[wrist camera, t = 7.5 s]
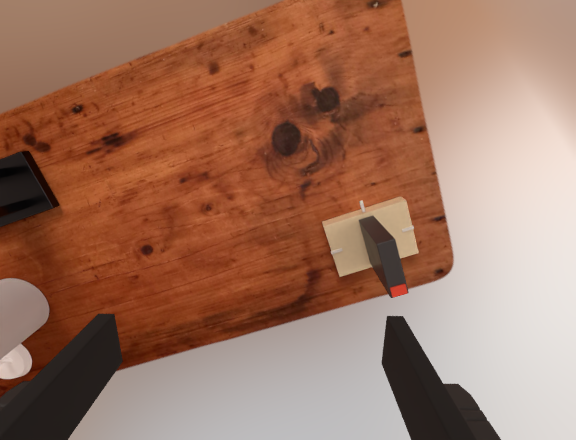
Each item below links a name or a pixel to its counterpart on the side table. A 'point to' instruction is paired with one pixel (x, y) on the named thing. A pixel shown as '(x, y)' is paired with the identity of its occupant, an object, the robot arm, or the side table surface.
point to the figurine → (15, 363)
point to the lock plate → (350, 240)
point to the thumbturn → (384, 256)
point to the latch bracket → (22, 189)
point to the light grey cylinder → (19, 312)
